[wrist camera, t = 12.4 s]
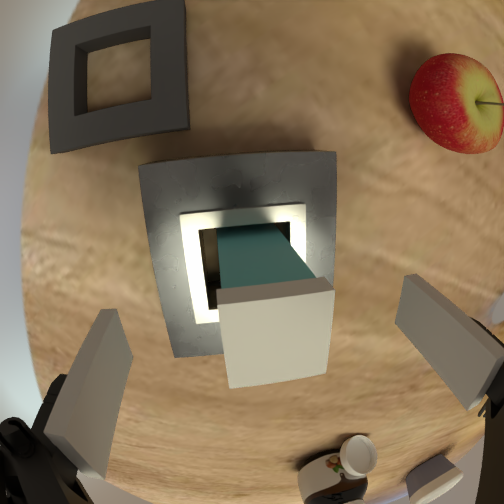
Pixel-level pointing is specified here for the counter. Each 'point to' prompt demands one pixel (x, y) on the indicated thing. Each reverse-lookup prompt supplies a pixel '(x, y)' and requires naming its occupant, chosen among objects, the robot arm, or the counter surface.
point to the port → (231, 214)
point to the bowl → (432, 479)
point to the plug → (270, 308)
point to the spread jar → (338, 473)
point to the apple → (457, 103)
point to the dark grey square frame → (127, 115)
